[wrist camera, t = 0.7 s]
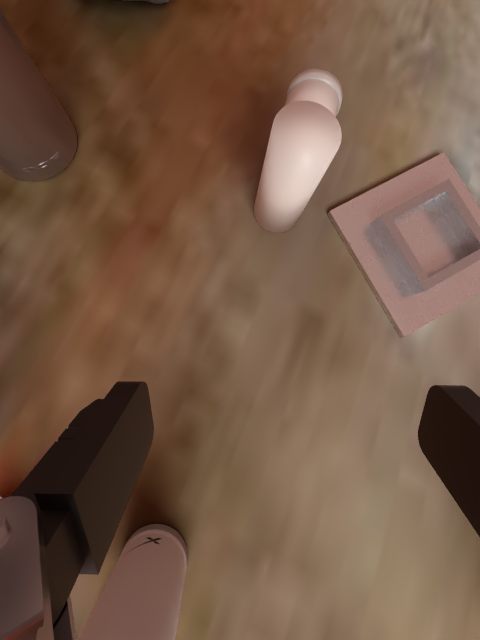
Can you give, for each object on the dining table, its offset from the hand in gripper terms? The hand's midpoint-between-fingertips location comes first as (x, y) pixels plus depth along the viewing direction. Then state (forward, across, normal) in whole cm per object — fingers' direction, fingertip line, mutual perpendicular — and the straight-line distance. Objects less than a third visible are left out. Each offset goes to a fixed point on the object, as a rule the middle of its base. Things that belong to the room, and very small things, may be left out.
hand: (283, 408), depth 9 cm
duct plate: (+29, -18, -1) cm, 34 cm away
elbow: (+30, -2, -6) cm, 31 cm away
